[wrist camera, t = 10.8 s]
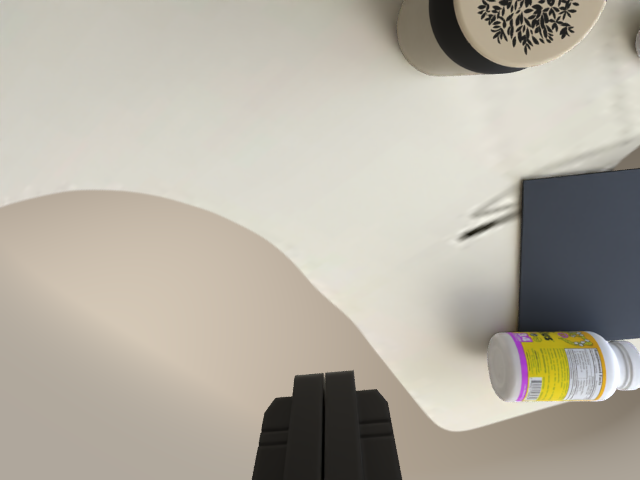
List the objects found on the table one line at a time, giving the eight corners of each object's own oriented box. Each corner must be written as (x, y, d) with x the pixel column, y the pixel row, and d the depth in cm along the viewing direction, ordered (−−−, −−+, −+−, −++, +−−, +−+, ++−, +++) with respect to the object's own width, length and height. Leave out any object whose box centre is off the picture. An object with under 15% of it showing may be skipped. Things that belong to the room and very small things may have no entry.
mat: (522, 180, 43) (523, 181, 43) (677, 164, 42) (679, 164, 42) (517, 347, 49) (518, 348, 48) (653, 335, 48) (655, 336, 48)
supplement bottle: (481, 337, 50) (601, 335, 49) (489, 402, 47) (615, 400, 47) (504, 327, 43) (641, 325, 43) (514, 402, 41) (659, 400, 41)
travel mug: (420, 93, 41) (487, 102, 24) (380, 5, 38) (422, -55, 21) (505, 46, 39) (641, 19, 22) (468, -48, 37) (589, -158, 20)
